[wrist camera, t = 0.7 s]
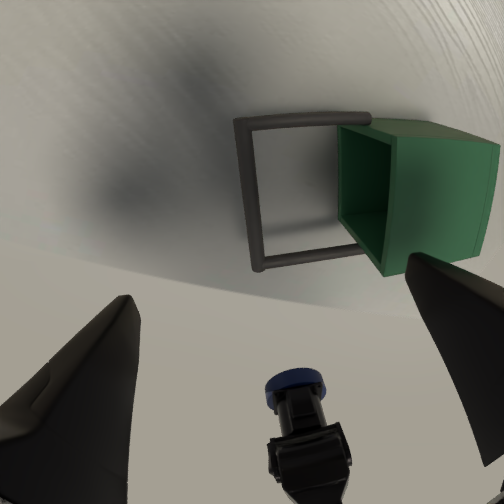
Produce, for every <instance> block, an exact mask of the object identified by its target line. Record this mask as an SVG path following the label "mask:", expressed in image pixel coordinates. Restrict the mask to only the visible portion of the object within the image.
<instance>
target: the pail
mask: <svg viewBox="0 0 504 504" xmlns="http://www.w3.org/2000/svg"><path fill="white" fill-rule="evenodd" d="M233 125H234V132H235V140H236V148H237V156H238V164H239V172H240V180H241V188H242V196H243V204H244V212H245V219H246V227H247V235H248V243H249V251H250V258H251V266H252V270H253V271H254V272H257V273H259V272H263V271H264V270H265V269H269V268H276V267H283V266H290V265H296V264H303V263H310V262H316V261H323V260H329V259H335V258H342V257H348V256H354V255H360V254H366V255H367V256H368V257H369V259H370V260H371V261H372V263H373V264H374V265H375V267H376V268H377V269H378V270H379V271H380V273H381V275H382V276H383V277H388V276H392V275H397V274H402V273H405V271H406V266H407V261H408V257H409V255H410V254H411V253H414V252H423V253H425V254H428V255H430V256H433V257H435V258H438V259H440V260H443V261H445V262H447V263H451V262H455V261H460V260H464V259H468V258H471V257H476V256H479V255H480V251H481V248H482V244H483V241H484V237H485V233H486V229H487V225H488V221H489V216H490V212H491V207H492V202H493V196H494V191H495V185H496V179H497V172H498V164H499V155H500V145H499V144H497V143H494V142H492V141H489V140H486V139H484V138H481V137H478V136H475V135H472V134H469V133H466V132H463V131H460V130H457V129H454V128H451V127H447V126H444V125H440V124H437V123H433V122H429V121H418V120H403V119H382V118H372V116H371V114H370V113H369V112H307V113H289V114H275V115H264V116H254V117H240V118H235V119H233ZM329 125H337V132H338V220H339V221H340V222H341V224H342V225H343V226H344V227H345V229H346V230H347V231H348V232H349V233H350V235H351V236H352V237H353V238H354V240H355V241H356V242H357V243H355V244H348V245H342V246H335V247H328V248H321V249H314V250H308V251H301V252H294V253H287V254H280V255H273V256H266V257H265V254H264V244H263V234H262V224H261V214H260V205H259V195H258V185H257V176H256V167H255V157H254V148H253V139H252V131H258V130H268V129H279V128H291V127H307V126H329Z"/></svg>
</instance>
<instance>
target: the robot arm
mask: <svg viewBox="0 0 504 504" xmlns="http://www.w3.org/2000/svg"><path fill="white" fill-rule="evenodd" d="M405 280H406V282H407V285H408V287H409V289H410V291H411V294H412V296H413V298H414V301H415V303H416V305H417V308H418V310H419V312H420V315H421V317H422V319H423V320H424V322H425V324H426V326H427V328H428V330H429V332H430V334H431V336H432V338H433V340H434V342H435V344H436V346H437V348H438V350H439V352H440V354H441V356H442V358H443V361H444V363H445V365H446V367H447V369H448V371H449V374H450V376H451V378H452V380H453V383H454V385H455V387H456V389H457V392H458V394H459V397H460V399H461V402H462V404H463V407H464V409H465V412H466V414H467V416H468V420H469V423H470V425H471V428H472V431H473V434H474V437H475V440H476V442H477V446H478V449H479V452H480V455H481V459H482V462H483V464H484V467H486V466H488V465H489V464H491V463H492V462H493V461H495V460H496V459H498V458H499V457H500V456H502V455H503V454H504V288H503V287H501V286H499V285H497V284H495V283H493V282H491V281H488V280H486V279H484V278H482V277H479V276H477V275H475V274H473V273H471V272H468V271H466V270H464V269H461V268H459V267H457V266H454V265H452V264H450V263H447V262H445V261H443V260H440V259H438V258H435V257H433V256H430V255H428V254H425V253H423V252H414V253H411V254H410V255H409V257H408V261H407V266H406V271H405ZM140 325H141V318H140V314H139V311H138V309H137V307H136V305H135V302H134V300H133V298H132V296H131V295H121V296H118V297H116V298H115V299H114V300H113V301H112V302H111V303H110V304H109V305H107V306H106V307H105V308H104V309H103V310H102V311H101V312H100V313H99V314H98V315H96V316H95V318H93V319H92V320H91V321H90V322H89V323H88V324H87V325H86V326H85V327H84V328H82V330H80V331H79V332H78V333H77V334H76V335H75V336H74V337H73V338H72V339H71V340H70V341H69V342H68V343H67V344H66V345H65V346H64V347H63V348H62V349H60V350H59V351H58V352H57V353H56V354H55V355H54V356H53V357H52V358H51V359H50V360H49V363H46V364H45V365H44V366H43V367H42V368H41V369H40V370H39V371H38V372H37V373H36V374H35V375H34V376H33V377H32V378H31V379H30V380H29V381H28V382H27V383H26V384H24V385H23V386H22V387H21V388H20V389H19V390H18V391H17V392H16V393H14V394H13V395H12V396H11V397H10V398H9V399H8V400H7V401H5V402H4V403H3V404H2V405H1V406H0V504H127V491H128V483H127V482H128V461H129V446H130V432H131V422H132V412H133V402H134V394H135V386H136V379H137V372H138V364H139V345H140ZM322 389H323V384H322V382H317V383H312V384H307V385H302V386H296V387H291V388H285V389H279V390H274V391H273V392H272V398H273V407H274V414H275V415H278V416H279V422H280V427H281V433H282V437H278V438H270V443H268V444H267V447H268V455H269V473H270V474H271V475H273V476H274V478H275V479H276V481H277V483H282V488H283V490H284V491H285V493H286V495H287V496H288V498H289V499H290V500H291V501H292V502H293V503H294V504H342V499H343V496H344V494H345V491H346V488H347V486H348V481H349V474H350V470H349V466H352V458H351V453H350V449H349V446H348V443H347V441H346V438H345V435H344V433H343V430H342V428H341V425H340V423H339V422H336V423H335V424H332V425H328V426H327V423H326V420H325V416H324V413H323V409H322V406H321V402H320V401H321V395H322ZM500 491H501V493H500V494H499V495H497V496H496V497H495V498H493V499H492V500H491V501H489V502H488V503H487V504H504V480H503V483H502V487H501V490H500Z"/></svg>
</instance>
